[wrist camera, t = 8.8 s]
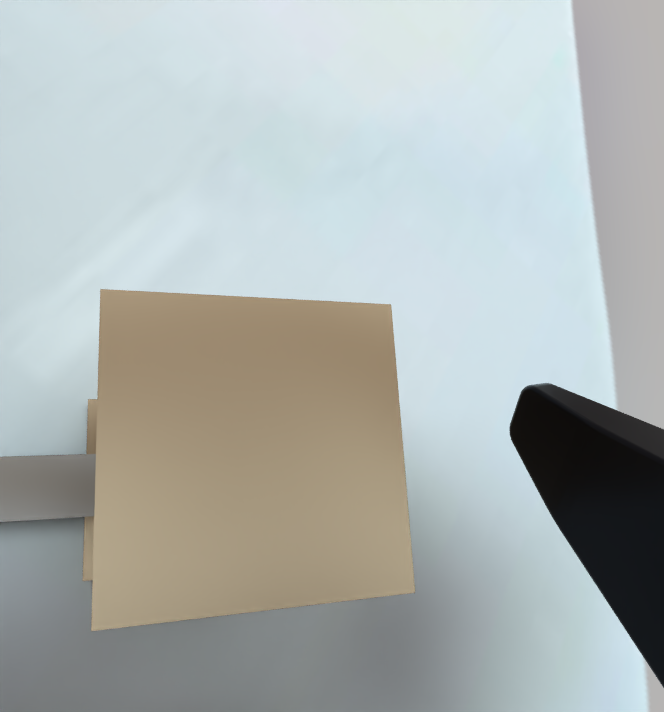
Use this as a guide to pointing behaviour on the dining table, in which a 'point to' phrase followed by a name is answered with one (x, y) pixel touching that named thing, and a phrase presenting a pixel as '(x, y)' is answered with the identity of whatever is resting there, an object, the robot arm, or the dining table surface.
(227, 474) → the blade tool
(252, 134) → the dining table surface
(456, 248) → the dining table surface
